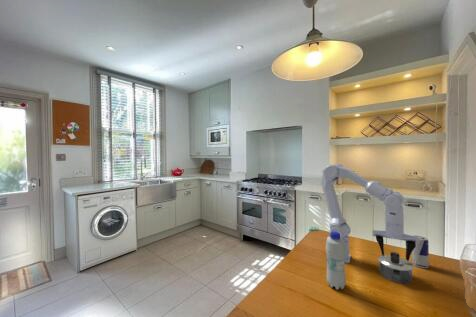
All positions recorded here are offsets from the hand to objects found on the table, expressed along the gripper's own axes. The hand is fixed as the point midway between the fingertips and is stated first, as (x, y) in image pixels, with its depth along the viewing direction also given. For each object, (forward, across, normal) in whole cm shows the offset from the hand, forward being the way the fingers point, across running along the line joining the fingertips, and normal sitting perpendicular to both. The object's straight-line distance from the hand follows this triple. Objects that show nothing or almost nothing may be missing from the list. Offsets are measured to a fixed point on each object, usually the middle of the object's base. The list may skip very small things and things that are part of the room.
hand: (394, 257), depth 80 cm
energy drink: (+8, +10, +15) cm, 20 cm away
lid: (+2, 0, 0) cm, 2 cm away
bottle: (+8, -19, -19) cm, 28 cm away
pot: (+7, 0, 0) cm, 7 cm away
